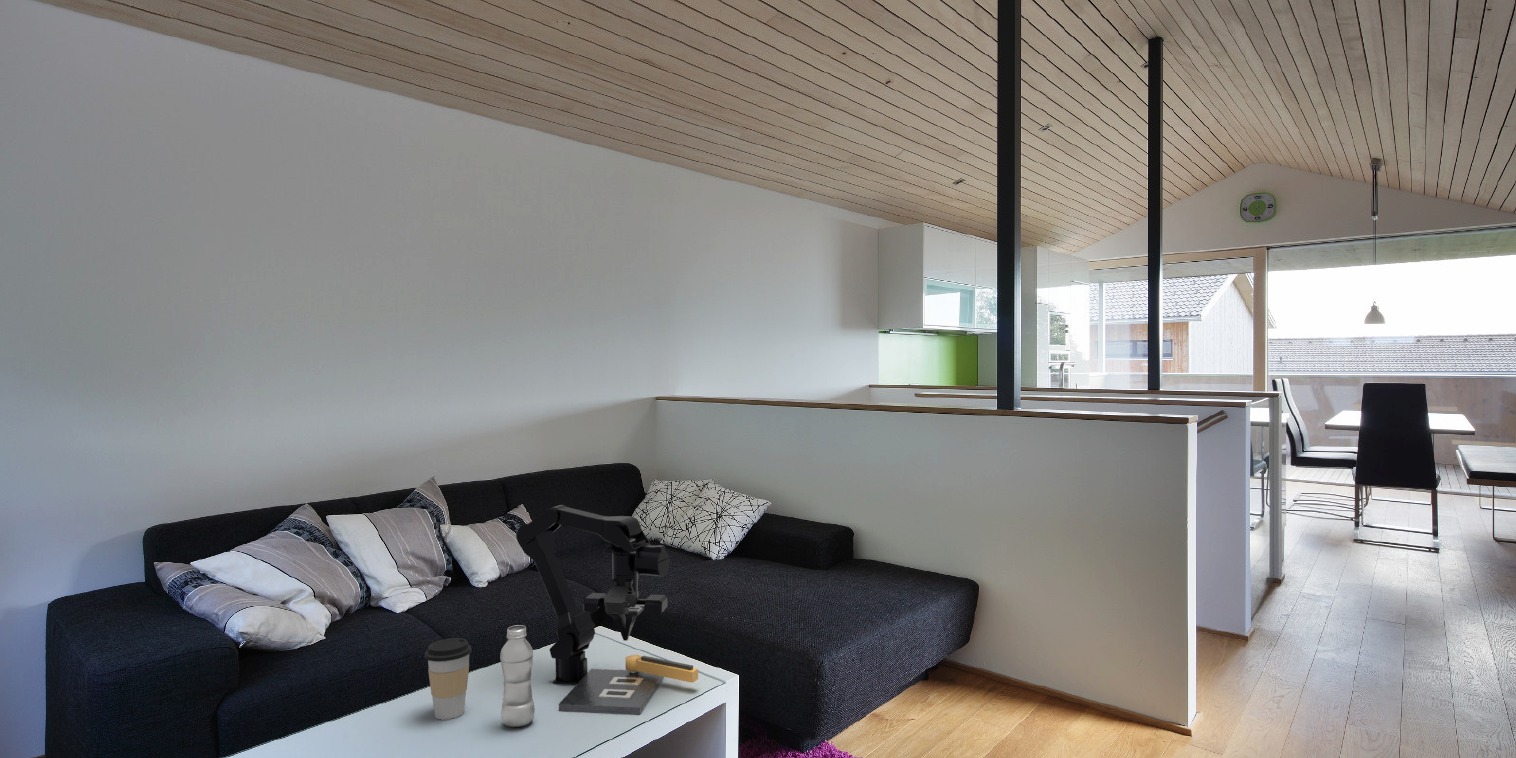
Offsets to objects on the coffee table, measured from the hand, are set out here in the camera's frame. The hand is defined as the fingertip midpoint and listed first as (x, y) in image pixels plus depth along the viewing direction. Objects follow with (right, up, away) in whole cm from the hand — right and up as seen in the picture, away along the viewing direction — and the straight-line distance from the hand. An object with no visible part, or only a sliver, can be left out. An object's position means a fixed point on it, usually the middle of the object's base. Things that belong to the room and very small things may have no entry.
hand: (625, 640), depth 177 cm
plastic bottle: (-19, -12, -18) cm, 29 cm away
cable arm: (+8, -8, +2) cm, 12 cm away
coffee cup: (-36, -12, -13) cm, 40 cm away
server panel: (-2, -11, -3) cm, 12 cm away
